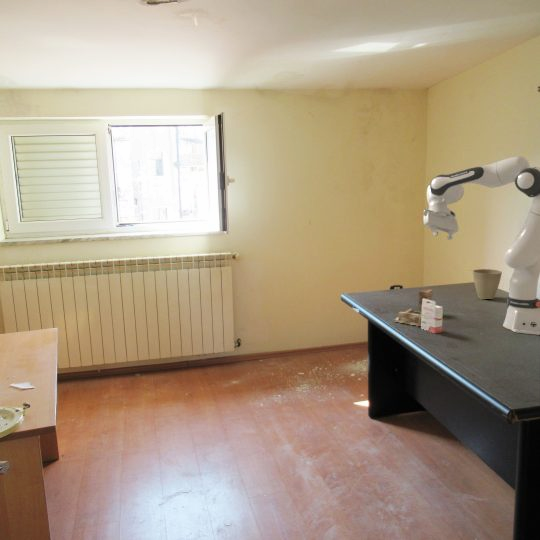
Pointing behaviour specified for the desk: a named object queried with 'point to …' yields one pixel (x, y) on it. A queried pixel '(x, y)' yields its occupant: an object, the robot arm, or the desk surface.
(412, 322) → the track
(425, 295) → the tall tan wooden block
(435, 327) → the ink cartridge box
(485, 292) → the plant pot
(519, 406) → the desk surface
